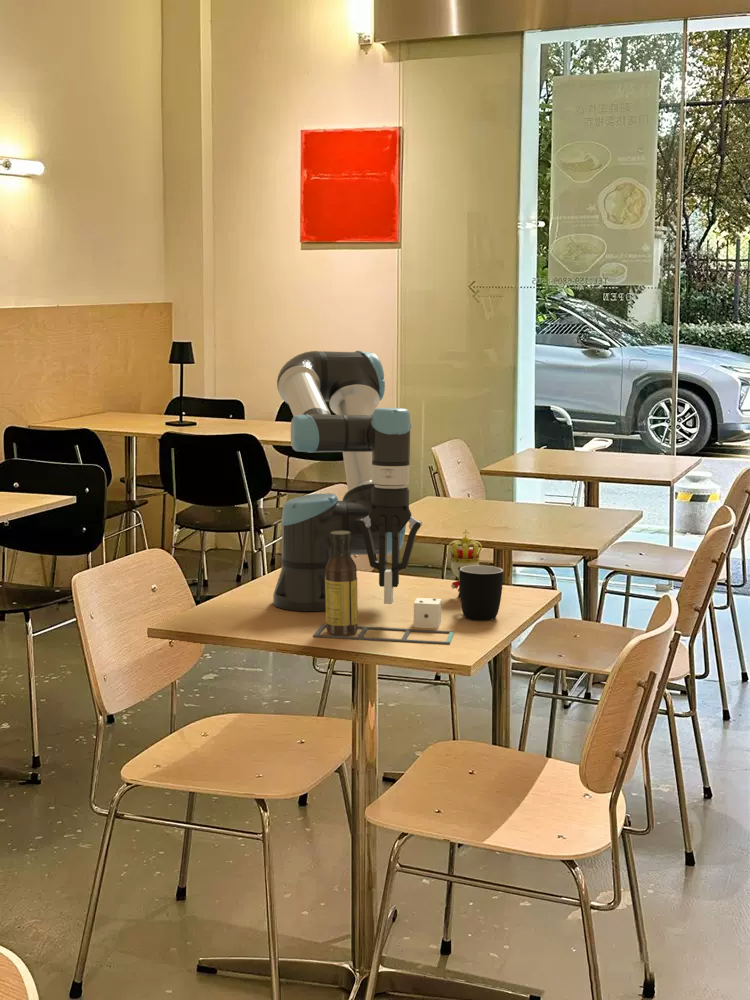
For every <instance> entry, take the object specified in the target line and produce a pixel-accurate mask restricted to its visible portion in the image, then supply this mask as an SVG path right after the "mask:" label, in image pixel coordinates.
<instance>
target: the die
mask: <svg viewBox="0 0 750 1000" xmlns="http://www.w3.org/2000/svg"><path fill="white" fill-rule="evenodd" d="M441 625H442V598H431V597H429V598H428V597H426V598H425V597H416V599H415V601H414V602H413V627H412V628H416V629H418V628H419V629H421V628H423V629H435V630H436V629H437V630H439V629H440V626H441Z"/></svg>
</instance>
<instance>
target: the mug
mask: <svg viewBox="0 0 750 1000" xmlns="http://www.w3.org/2000/svg"><path fill="white" fill-rule="evenodd" d="M458 579H459V580H458V581H459V586H458V589H459V590H460V597H459V598H460V605H461V611H462V614H463V616H464V618H465V619H467V620H468V621H469V620H470V621H475V622H488V621H489V622H490V621H493V620H495V619H496V617H497V616H498V613H499V611H500V605H501V600H502V592H503V585H504V584H503V583H504V570H503V568H501V567H498V566H492V565H480V564H479V565H472V566H464V567H461V568H460V571H459V578H458Z"/></svg>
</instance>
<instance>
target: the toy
mask: <svg viewBox="0 0 750 1000" xmlns="http://www.w3.org/2000/svg"><path fill="white" fill-rule="evenodd" d="M462 533H463V534H465V536H464V537H462V538H461V540H459V539H456V540H455V539H454V540H453V541H451V542H450V543H449V544H448V548H449V551H450V554H451V556H450V558H451V559H450V561H451V562H450V563H451V564H450V568H451V572H452V573H453V575H454V576H455V577H457V578H458V579H459V571H460V568H461V567H464V566H472V565H480V553H481V551H482V550H483V549H482V548H483V546H482V544H481V542H479V541H477V540H475V539H472V540H470V538H469V537H467V534H470V533H469V531H468V532H467V529H465V530H464V531H463V532H462ZM463 534H462V535H463ZM459 545H461V547H462V548H459V549H458V546H459ZM471 545H472V546H473V547H472V548H469V546H471ZM451 546H452V547H451ZM479 546H480V547H479ZM450 588H452V589H456V590H457V592H459V593H458V595H457V598H460V590H459V580H457V581H453V582H452V583H451V587H450Z"/></svg>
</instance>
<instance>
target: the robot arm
mask: <svg viewBox="0 0 750 1000" xmlns="http://www.w3.org/2000/svg"><path fill="white" fill-rule="evenodd" d="M383 367H384V366H383V365H382V362H381V360H380V358H379V357H378V355H377V354H375V353H373V352H370V351H369V352H367V351H361V350H356V351H328V350H327V351H325V350H323V351H321V350H320V351H318V350H311V351H304V352H302V353H300V354H298V355H295V356H294V357H292V358H290V359H289V360H288V361H286V363H285V364H284V365H283V366H282V367H281V369H280V370H279V373H278V375H277V380H276V385H277V386H276V387H277V391H278V394H279V396H280V398H281V399H282V401H283V402H285V403H286V404H287V405H288V406H289V409H290V411H291V413H292V416H293V417H292V418H291V423H290V442H291V448H292V450H294V451H295V452H303V453H309V454H310V453H311V454H312V453H342V457H343V465H344V470H345V479H346V486H347V491H346V492H345V494H344V495H343V496H342V500H339V498H338V496H337V495H336V494H335V493H328V492H327V493H314V494H312V493H311V494H305V495H301V496H296V497H293V498H291V499H289V500H286V502H284V504H283V507H282V516H281V521H280V524H281V569H280V572H279V575H278V578H277V582H276V585H275V587H274V591H273V600H272V602H273V604H272V605H274V607H276V608H280V609H283V610H287V611H288V610H289V611H295V612H297V611H298V612H322V611H323V612H324V611H325V612H326V593H325V573H326V565H327V563H328V561H329V559H330V558H331V540H330V533H331V532H333V531H349V532H351V540H350V551H351V556H361V555H362V556H363V555H364V556H366V555H367V557H368V562H369V565H370V567H371V568H374V569H376V570H378V573H379V574H378V585H379V587H383V588H384V589H383V605H392V604H393V603H394V588H397V587H398V586H399V583H400V571H401V570H404V569H406V568H408V565H409V563H410V560H411V555H412V551H413V547H414V544H415V541H416V537H417V532H418V531H419V530H420V528H421V527H422V525H423V522H422V520H417V519H416V518H414V517H413V516H412V512H411V510H410V488H409V486H408V485H409V484H410V472H411V470H410V469H411V465H410V459H411V457H410V456H411V455H410V454H411V452H410V451H411V430H412V424H411V414H410V411H409V409H407V408H405V407H404V408H403V407H401V408H400V407H378V406H379V403H380V401H382V400H383V398H384V396H385V391H386V389H385V388H386V383H385V382H386V381H385V373H384V368H383ZM327 402H328V404H329V407H328V405H327ZM329 408H330V409H329ZM330 410H331V411H332V413H334V414H331V412H330ZM407 523H409V525H408V528H409V530H410V531H409V532H408V533H409V534H408V535H407V536H408V537H407V541H406V544H405V548H404V551H403V556H402V559H401V562H400V550H401V549H402V547H403V545H404V540H405V535H406V530H407V529H406V528H407ZM377 555H378V558H377ZM388 555H391V569H387V567H388V565H387V562H388V559H387V558H388Z"/></svg>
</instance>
